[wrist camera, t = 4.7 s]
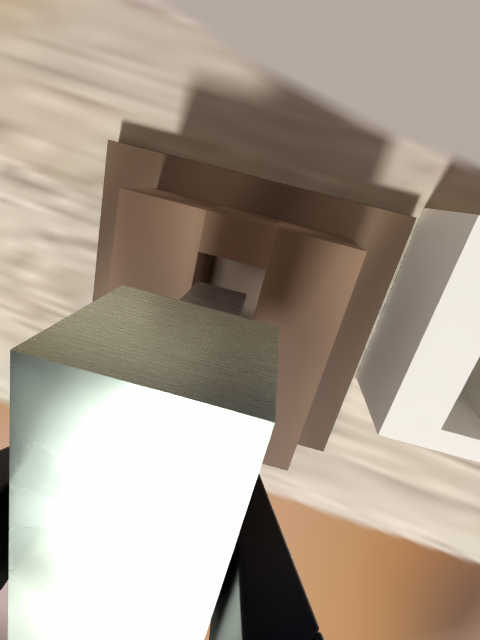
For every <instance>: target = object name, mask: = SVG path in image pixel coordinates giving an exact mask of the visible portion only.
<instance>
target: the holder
mask: <svg viewBox="0 0 480 640" xmlns="http://www.w3.org/2000/svg"><path fill="white" fill-rule="evenodd" d="M356 377H357V380H358V383H359V385H360V388H361V391H362V393H363V396H364V399H365V401H366V404H367V407H368V409H369V412H370V415H371V417H372V420H373V423H374V425H375V428H376V430H377V433H378V435H381V436H384V437H388V438H392V439H395V440H399V441H403V442H406V443H410V444H414V445H417V446H421V447H425V448H428V449H432V450H436V451H439V452H443V453H447V454H450V455H454V456H458V457H461V458H465V459H469V460H472V461H476V462H480V215H476V214H468V213H460V212H453V211H445V210H437V209H429V208H424V210H423V212H422V215H421V217H420V220H419V222H418V225H417V227H416V230H415V232H414V235H413V237H412V239H411V242H410V244H409V247H408V249H407V252H406V254H405V257H404V259H403V262H402V264H401V267H400V269H399V272H398V274H397V277H396V279H395V282H394V284H393V287H392V289H391V292H390V294H389V297H388V299H387V302H386V304H385V307H384V309H383V311H382V314H381V316H380V319H379V321H378V324H377V326H376V329H375V331H374V334H373V336H372V339H371V341H370V344H369V346H368V349H367V351H366V354H365V356H364V359H363V361H362V364H361V366H360V369H359V371H358V374H357V376H356Z"/></svg>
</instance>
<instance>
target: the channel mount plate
mask: <svg viewBox="0 0 480 640" xmlns="http://www.w3.org/2000/svg"><path fill="white" fill-rule="evenodd" d="M415 220H416V218H415V217H411V216H408V215H404V214H400V213H396V212H392V211H388V210H384V209H380V208H376V207H372V206H368V205H364V204H360V203H356V202H352V201H348V200H344V199H340V198H336V197H332V196H329V195H325V194H321V193H317V192H313V191H309V190H305V189H301V188H297V187H293V186H289V185H285V184H281V183H277V182H273V181H269V180H265V179H261V178H257V177H254V176H250V175H246V174H242V173H238V172H234V171H230V170H226V169H222V168H218V167H214V166H210V165H206V164H202V163H198V162H194V161H190V160H186V159H182V158H179V157H175V156H171V155H167V154H163V153H159V152H155V151H151V150H147V149H143V148H139V147H135V146H131V145H127V144H123V143H119V142H115V141H111V140H108V145H107V156H106V166H105V177H104V187H103V198H102V209H101V219H100V230H99V241H98V251H97V262H96V272H95V283H94V294H93V302H94V301H96V300H98V299H99V298H101V297H103V296H104V295H106V294H108V293H110V292H111V291H113V290H115V289H117V288H118V287H120V286H122V285H124V286H128V287H132V288H136V289H139V290H143V291H147V292H151V293H154V294H158V295H162V296H166V297H169V298H173V299H177V300H180V299H181V298H182V297H183V296H184V295H185V294H186V293H187V292H188V291H189V290H190V288H191V287H192V286H193V285H194V284H195V283H196V282H197V281H200V282H204V283H207V284H211V285H215V286H219V287H223V288H226V289H230V290H234V291H238V292H241V293H245V294H247V295H246V299H245V303H244V307H243V311H242V315H241V317H244V318H248V319H252V320H256V321H259V322H263V323H267V324H271V325H274V326H278V327H280V336H279V355H278V375H277V394H276V413H275V424H274V427H273V430H272V433H271V437H270V440H269V443H268V446H267V449H266V452H265V455H264V458H263V461H262V464H266V465H269V466H273V467H277V468H280V469H284V470H287V471H288V468H289V465H290V462H291V460H292V457H293V454H294V451H295V449H296V446H297V444H298V445H302V446H305V447H309V448H313V449H316V450H320V451H324V448H325V446H326V443H327V441H328V438H329V436H330V433H331V431H332V428H333V426H334V423H335V421H336V418H337V416H338V413H339V411H340V408H341V406H342V403H343V400H344V398H345V395H346V393H347V390H348V388H349V385H350V383H351V380H352V378H353V375H354V373H355V370H356V368H357V365H358V363H359V360H360V358H361V355H362V353H363V350H364V348H365V345H366V343H367V340H368V338H369V335H370V333H371V330H372V328H373V325H374V323H375V320H376V318H377V315H378V313H379V310H380V308H381V305H382V303H383V300H384V298H385V295H386V293H387V290H388V288H389V285H390V283H391V280H392V278H393V275H394V273H395V270H396V268H397V265H398V263H399V260H400V258H401V255H402V253H403V250H404V248H405V245H406V243H407V240H408V238H409V235H410V233H411V230H412V228H413V225H414V223H415Z"/></svg>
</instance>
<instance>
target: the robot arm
mask: <svg viewBox="0 0 480 640" xmlns="http://www.w3.org/2000/svg"><path fill="white" fill-rule="evenodd" d="M9 459H10V446H9V447H6V448H4V449H2V450H0V590H1V589H2V588H3V586H4V585H5V583H6V582H7V580H8V579H9ZM318 631H319V626H318V624H317V621H316V618H315V616H314V613H313V611H312V608H311V606H310V603H309V600H308V598H307V595H306V593H305V590H304V588H303V585H302V583H301V580H300V578H299V575H298V572H297V570H296V567H295V565H294V562H293V559H292V557H291V554H290V552H289V549H288V547H287V544H286V542H285V539H284V536H283V534H282V532H281V529H280V526H279V524H278V521H277V518H276V516H275V513H274V511H273V508H272V506H271V503H270V501H269V499H268V495H267V493H266V490H265V488H264V485H263V483H262V480H261V477H260V475H259V473H258V476H257V479H256V482H255V485H254V488H253V491H252V495H251V498H250V501H249V504H248V507H247V510H246V513H245V516H244V519H243V522H242V525H241V528H240V531H239V534H238V537H237V540H236V543H235V546H234V549H233V553H232V556H231V559H230V562H229V565H228V568H227V571H226V574H225V577H224V580H223V583H222V586H221V589H220V592H219V595H218V598H217V601H216V604H215V607H214V610H213V614H212V617H211V625H210V635H209V640H324V638H323V636H322V634H321V633H320V632H318Z"/></svg>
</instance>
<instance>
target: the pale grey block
mask: <svg viewBox="0 0 480 640" xmlns="http://www.w3.org/2000/svg"><path fill="white" fill-rule="evenodd" d="M246 295H247V294H245V293H241V292H238V291H234V290H230V289H226V288H223V287H219V286H215V285H211V284H207V283H204V282H200V281H197V282H196V283H195V284H194V285H193V286H192V287H191V288H190V290H189V291H188V292H187V293H186V294H185V295H184V296H183V297H182V298H181V299H180V300H177V299H173V298H169V297H166V296H162V295H158V294H154V293H151V292H147V291H143V290H139V289H136V288H132V287H128V286H124V285H122V286H120V287H118V288H117V289H115V290H113V291H111V292H110V293H108V294H106V295H104V296H103V297H101V298H99V299H98V300H96V301H94V302H92V303H91V304H89V305H87V306H85V307H84V308H82V309H80V310H78V311H77V312H75V313H73V314H72V315H70V316H68V317H66V318H65V319H63V320H61V321H59V322H58V323H56V324H54V325H52V326H51V327H49V328H47V329H46V330H44V331H42V332H40V333H39V334H37V335H35V336H33V337H32V338H30V339H28V340H26V341H25V342H23V343H21V344H20V345H18V346H16V347H14V348H13V349H11V350H10V459H9V579H8V581H9V585H8V586H9V587H8V590H9V591H8V640H204V638H205V635H206V632H207V629H208V625H209V623H210V620H211V617H212V614H213V610H214V607H215V604H216V601H217V598H218V595H219V592H220V589H221V586H222V583H223V580H224V577H225V574H226V571H227V568H228V565H229V562H230V559H231V556H232V553H233V549H234V546H235V543H236V540H237V537H238V534H239V531H240V528H241V525H242V522H243V519H244V516H245V513H246V510H247V507H248V504H249V501H250V498H251V495H252V491H253V488H254V485H255V482H256V479H257V476H258V473H259V470H260V467H261V464H262V461H263V458H264V455H265V452H266V449H267V446H268V443H269V440H270V437H271V433H272V430H273V427H274V424H275V413H276V394H277V375H278V355H279V336H280V327H278V326H274V325H271V324H267V323H263V322H259V321H256V320H252V319H248V318H244V317H241V315H242V311H243V307H244V303H245V299H246Z"/></svg>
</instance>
